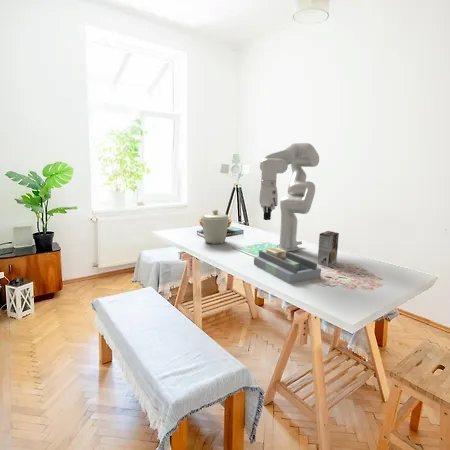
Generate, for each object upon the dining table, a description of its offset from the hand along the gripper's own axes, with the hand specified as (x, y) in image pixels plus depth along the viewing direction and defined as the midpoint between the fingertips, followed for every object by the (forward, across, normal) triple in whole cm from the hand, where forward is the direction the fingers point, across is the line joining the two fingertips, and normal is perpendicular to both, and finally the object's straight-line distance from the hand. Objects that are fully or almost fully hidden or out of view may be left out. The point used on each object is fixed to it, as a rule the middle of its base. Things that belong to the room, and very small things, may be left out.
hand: (267, 219), depth 166 cm
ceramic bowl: (+22, +76, -8) cm, 80 cm away
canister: (+22, +46, +7) cm, 52 cm away
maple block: (+18, -9, 0) cm, 20 cm away
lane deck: (+22, -17, 0) cm, 28 cm away
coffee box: (+22, -17, -27) cm, 39 cm away
